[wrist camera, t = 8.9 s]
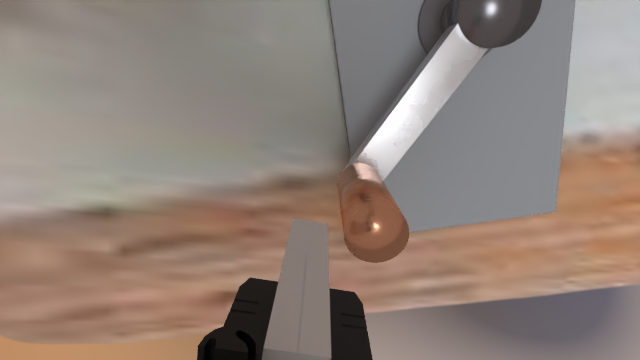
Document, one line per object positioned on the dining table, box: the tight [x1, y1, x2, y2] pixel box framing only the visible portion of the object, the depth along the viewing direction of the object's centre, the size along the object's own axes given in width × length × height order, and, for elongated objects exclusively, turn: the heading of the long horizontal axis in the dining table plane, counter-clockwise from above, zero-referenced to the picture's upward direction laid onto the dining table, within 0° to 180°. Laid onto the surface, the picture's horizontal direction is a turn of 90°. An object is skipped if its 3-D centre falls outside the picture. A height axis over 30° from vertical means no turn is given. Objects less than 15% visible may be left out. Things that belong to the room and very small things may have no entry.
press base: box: [329, 0, 575, 233], centre depth 22 cm, size 25×17×4 cm
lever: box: [337, 0, 542, 263], centre depth 17 cm, size 22×4×11 cm, turn 146°
